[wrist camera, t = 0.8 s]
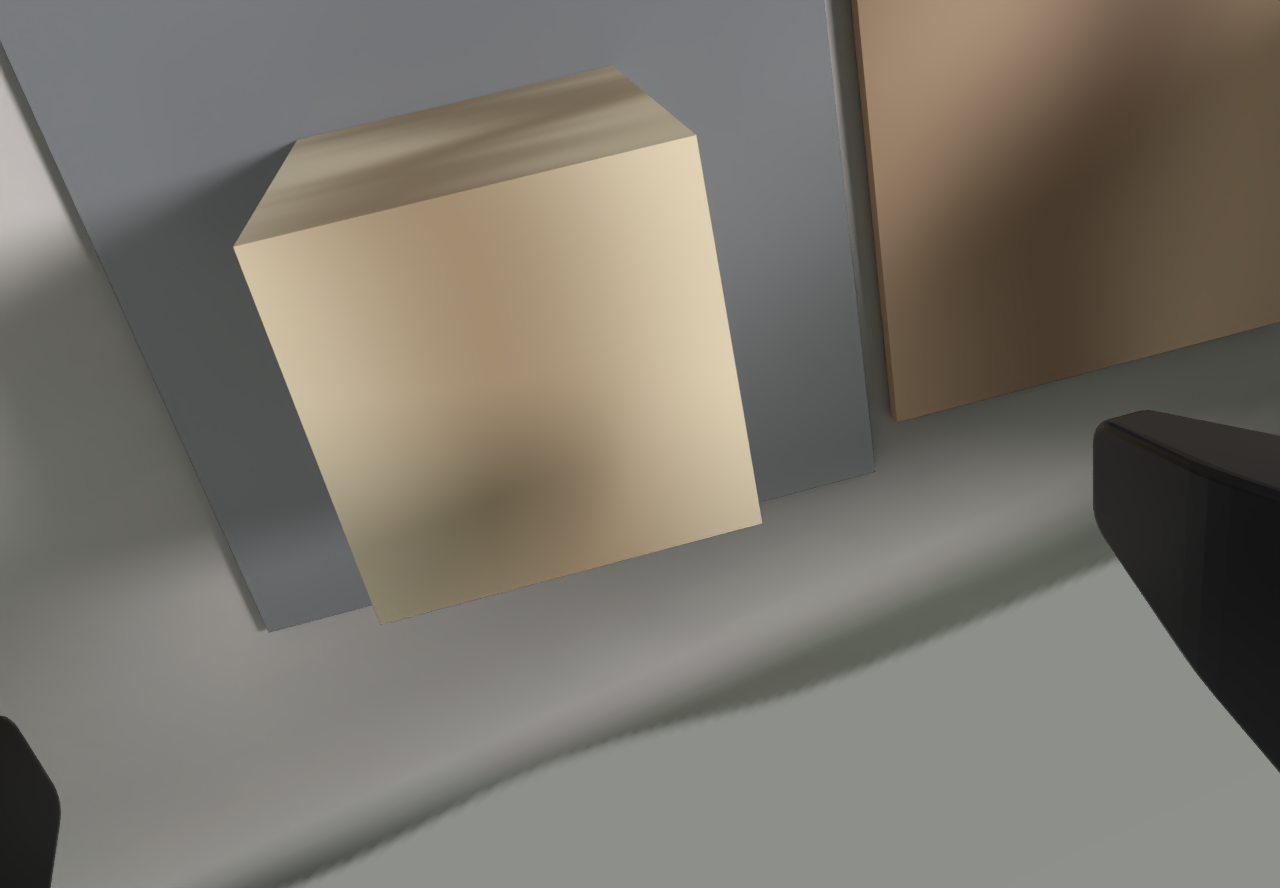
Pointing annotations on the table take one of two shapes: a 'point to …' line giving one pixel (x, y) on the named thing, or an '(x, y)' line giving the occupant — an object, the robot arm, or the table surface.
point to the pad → (1065, 184)
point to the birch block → (505, 338)
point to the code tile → (397, 85)
